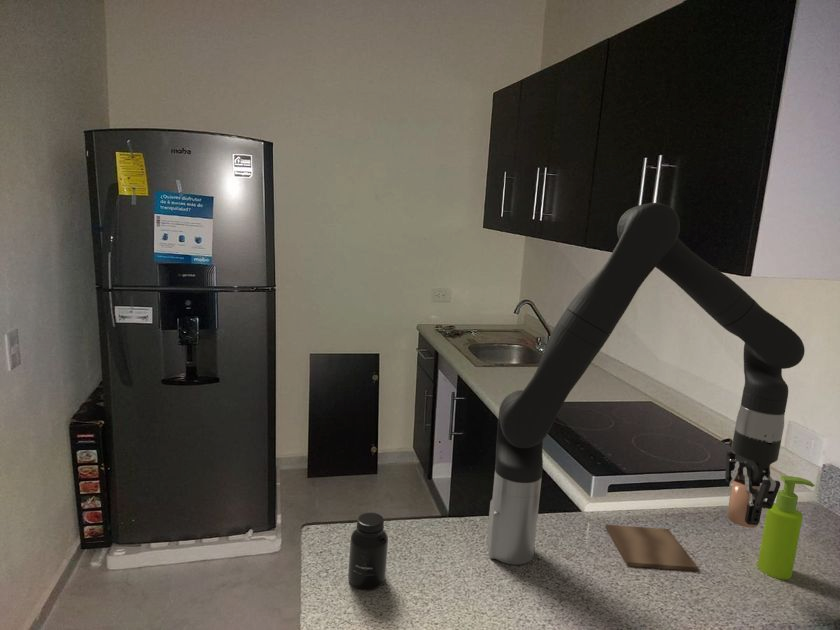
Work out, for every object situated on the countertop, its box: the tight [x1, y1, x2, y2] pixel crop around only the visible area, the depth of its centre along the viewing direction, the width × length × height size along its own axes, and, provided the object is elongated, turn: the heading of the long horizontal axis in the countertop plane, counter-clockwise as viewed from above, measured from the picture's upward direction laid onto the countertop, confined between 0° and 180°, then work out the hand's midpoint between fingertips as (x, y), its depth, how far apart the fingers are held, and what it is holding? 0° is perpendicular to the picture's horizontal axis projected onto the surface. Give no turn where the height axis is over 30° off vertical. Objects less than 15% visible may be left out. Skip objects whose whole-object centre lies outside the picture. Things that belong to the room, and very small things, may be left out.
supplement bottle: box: [347, 512, 389, 591], centre depth 99 cm, size 7×7×12 cm
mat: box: [605, 524, 699, 572], centre depth 116 cm, size 14×14×1 cm
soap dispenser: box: [757, 475, 816, 580], centre depth 109 cm, size 6×7×20 cm
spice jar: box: [726, 481, 761, 529], centre depth 105 cm, size 5×5×7 cm
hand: (743, 515), depth 105 cm, fingers closed on spice jar, 5 cm apart
